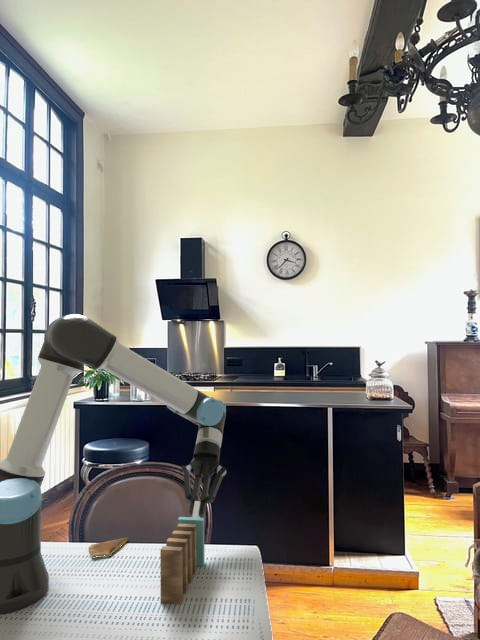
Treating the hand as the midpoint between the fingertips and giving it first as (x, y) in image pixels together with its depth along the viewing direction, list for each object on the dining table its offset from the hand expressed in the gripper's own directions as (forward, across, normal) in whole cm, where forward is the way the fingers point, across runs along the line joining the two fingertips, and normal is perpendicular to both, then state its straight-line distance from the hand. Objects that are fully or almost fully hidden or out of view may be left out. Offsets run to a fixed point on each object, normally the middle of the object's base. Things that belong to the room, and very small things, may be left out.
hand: (194, 528), depth 113 cm
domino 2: (+10, 0, 0) cm, 10 cm away
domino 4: (+16, 0, +5) cm, 17 cm away
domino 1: (+7, 0, -3) cm, 8 cm away
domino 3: (+13, 0, +3) cm, 13 cm away
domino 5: (+19, 0, +8) cm, 21 cm away
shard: (+4, +25, -7) cm, 27 cm away
